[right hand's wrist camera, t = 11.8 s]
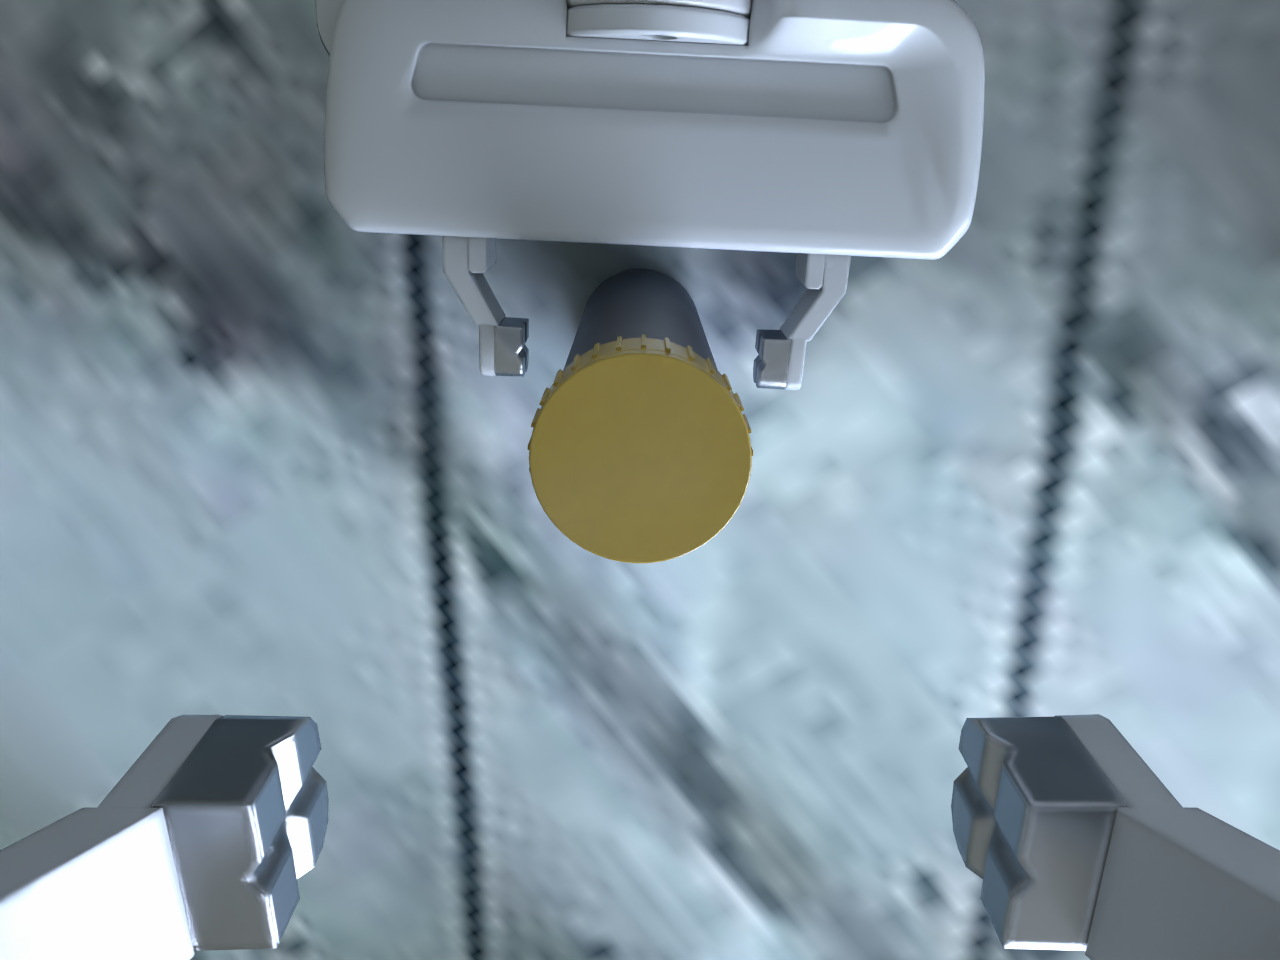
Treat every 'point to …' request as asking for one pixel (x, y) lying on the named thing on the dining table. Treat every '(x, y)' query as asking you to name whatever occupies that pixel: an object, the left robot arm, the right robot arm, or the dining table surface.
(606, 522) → the lid
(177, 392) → the dining table surface
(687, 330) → the jar
